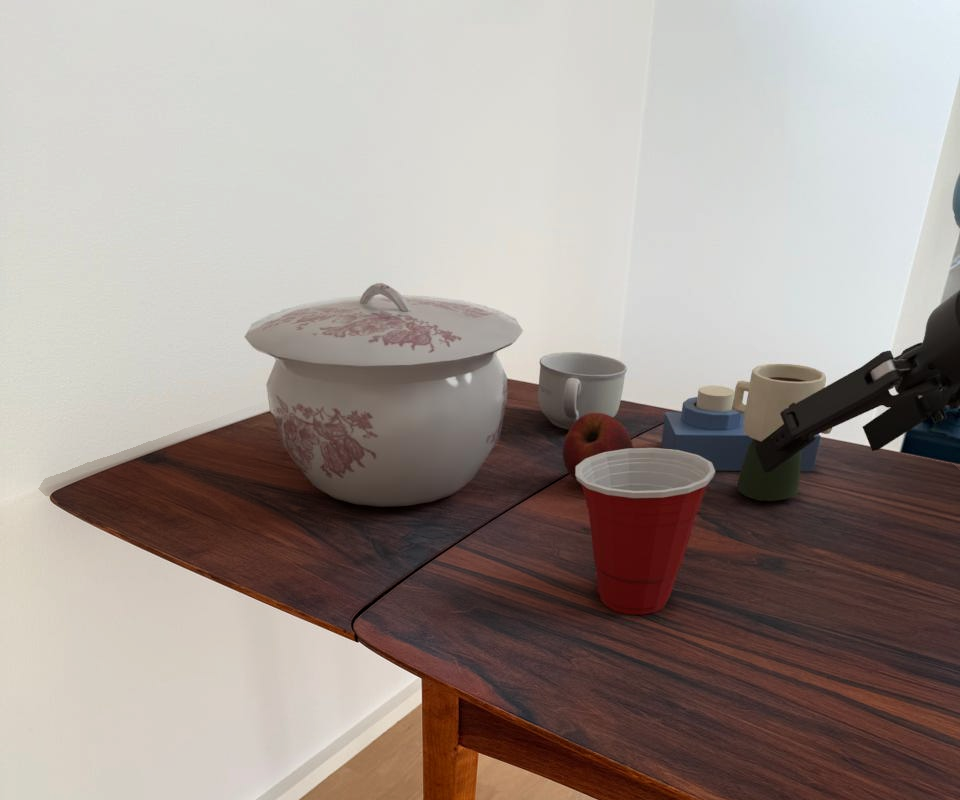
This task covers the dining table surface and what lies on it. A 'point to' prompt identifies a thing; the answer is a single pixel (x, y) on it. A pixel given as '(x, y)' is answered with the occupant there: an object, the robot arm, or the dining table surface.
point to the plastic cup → (641, 521)
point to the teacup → (579, 386)
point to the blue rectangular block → (717, 437)
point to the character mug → (772, 425)
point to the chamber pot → (387, 392)
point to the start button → (715, 398)
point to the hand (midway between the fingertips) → (817, 448)
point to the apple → (593, 439)
